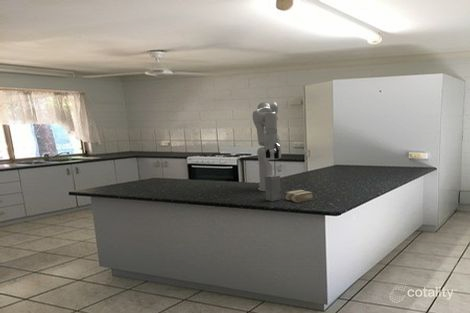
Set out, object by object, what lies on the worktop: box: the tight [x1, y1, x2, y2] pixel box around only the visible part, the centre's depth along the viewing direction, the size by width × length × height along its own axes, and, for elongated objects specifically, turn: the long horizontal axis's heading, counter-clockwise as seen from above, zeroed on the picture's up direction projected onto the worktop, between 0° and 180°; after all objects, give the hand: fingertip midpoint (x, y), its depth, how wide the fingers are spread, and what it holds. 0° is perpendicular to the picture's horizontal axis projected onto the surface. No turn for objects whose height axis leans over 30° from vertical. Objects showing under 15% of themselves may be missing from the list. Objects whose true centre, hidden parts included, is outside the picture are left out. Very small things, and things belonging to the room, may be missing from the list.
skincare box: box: [264, 174, 282, 202], centre depth 241 cm, size 8×7×16 cm
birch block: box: [285, 189, 314, 203], centre depth 239 cm, size 12×12×5 cm
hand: (272, 158), depth 240 cm, fingers open, 9 cm apart
